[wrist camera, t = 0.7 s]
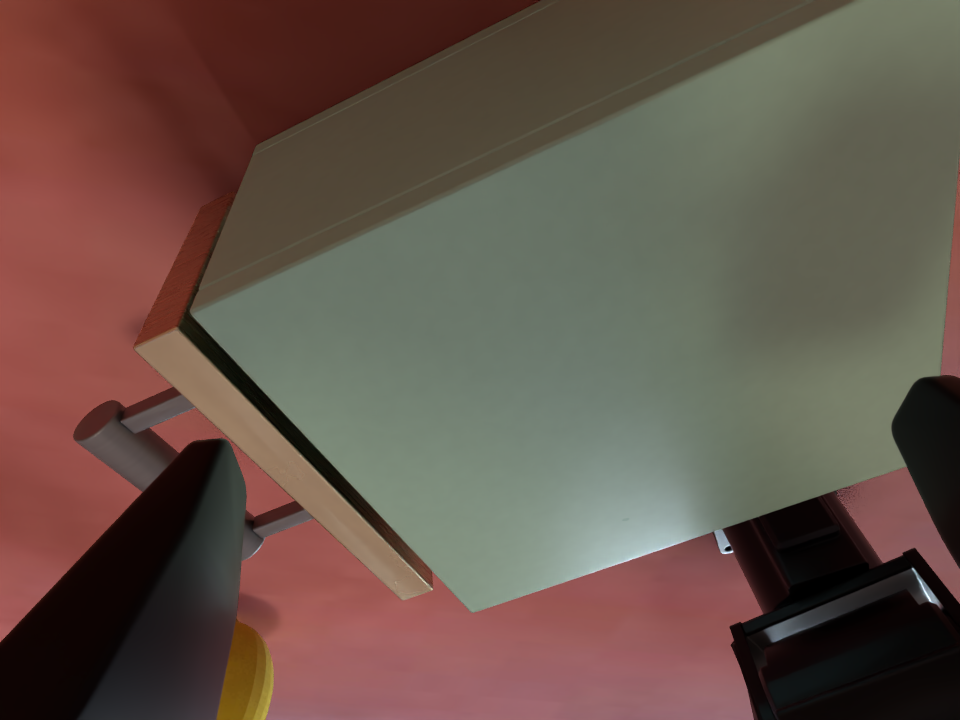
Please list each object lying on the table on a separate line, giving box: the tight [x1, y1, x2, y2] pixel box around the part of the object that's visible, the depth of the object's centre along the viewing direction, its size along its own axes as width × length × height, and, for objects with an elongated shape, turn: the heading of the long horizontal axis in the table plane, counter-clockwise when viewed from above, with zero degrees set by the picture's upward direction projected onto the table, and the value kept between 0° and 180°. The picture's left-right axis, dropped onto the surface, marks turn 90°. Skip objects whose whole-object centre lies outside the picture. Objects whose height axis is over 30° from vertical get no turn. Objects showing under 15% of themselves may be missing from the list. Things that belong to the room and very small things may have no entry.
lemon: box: [216, 619, 274, 720], centre depth 31 cm, size 6×6×8 cm
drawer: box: [73, 192, 433, 600], centre depth 19 cm, size 19×12×7 cm, turn 113°
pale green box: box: [190, 0, 960, 613], centre depth 18 cm, size 15×14×9 cm
